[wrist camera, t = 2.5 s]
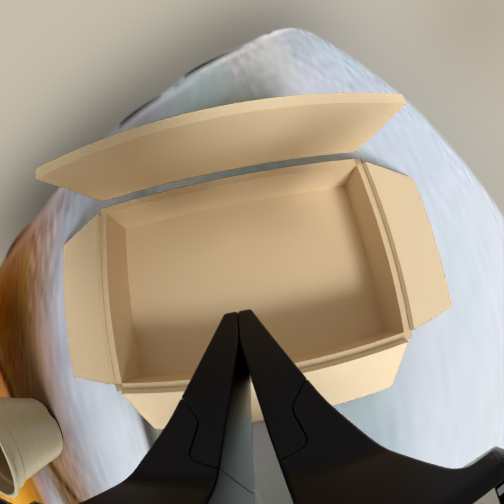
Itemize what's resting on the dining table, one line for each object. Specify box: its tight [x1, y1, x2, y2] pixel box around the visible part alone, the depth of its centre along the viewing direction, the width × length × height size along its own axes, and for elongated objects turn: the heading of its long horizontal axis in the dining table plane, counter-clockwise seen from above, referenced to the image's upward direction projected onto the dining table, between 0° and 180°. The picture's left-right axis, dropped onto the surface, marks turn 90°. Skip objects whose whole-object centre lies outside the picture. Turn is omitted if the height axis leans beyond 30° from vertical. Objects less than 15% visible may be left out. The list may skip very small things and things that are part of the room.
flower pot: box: [0, 397, 63, 498], centre depth 12 cm, size 9×9×9 cm
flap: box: [36, 93, 406, 201], centre depth 13 cm, size 1×17×7 cm, turn 101°
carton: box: [63, 158, 451, 429], centre depth 16 cm, size 16×30×4 cm, turn 100°
